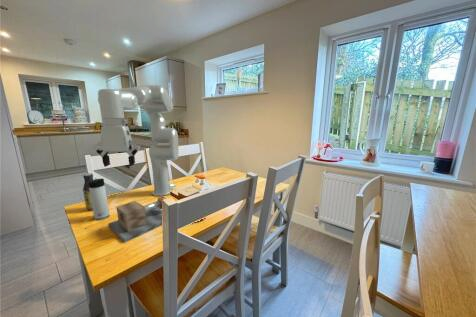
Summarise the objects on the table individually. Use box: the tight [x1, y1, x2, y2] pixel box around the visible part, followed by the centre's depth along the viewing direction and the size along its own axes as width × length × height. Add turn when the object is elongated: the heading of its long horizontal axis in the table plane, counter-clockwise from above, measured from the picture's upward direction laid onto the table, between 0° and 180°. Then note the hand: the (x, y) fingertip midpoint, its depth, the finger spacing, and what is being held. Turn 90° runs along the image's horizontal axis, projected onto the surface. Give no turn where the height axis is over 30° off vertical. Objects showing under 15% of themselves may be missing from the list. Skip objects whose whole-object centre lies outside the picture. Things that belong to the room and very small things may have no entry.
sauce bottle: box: [82, 172, 94, 212], centre depth 103 cm, size 7×6×20 cm
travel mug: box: [88, 178, 110, 221], centre depth 94 cm, size 6×7×20 cm
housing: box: [107, 200, 163, 243], centre depth 91 cm, size 24×18×10 cm
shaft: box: [143, 196, 167, 212], centre depth 93 cm, size 14×6×6 cm, turn 141°
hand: (119, 165), depth 78 cm, fingers open, 9 cm apart
